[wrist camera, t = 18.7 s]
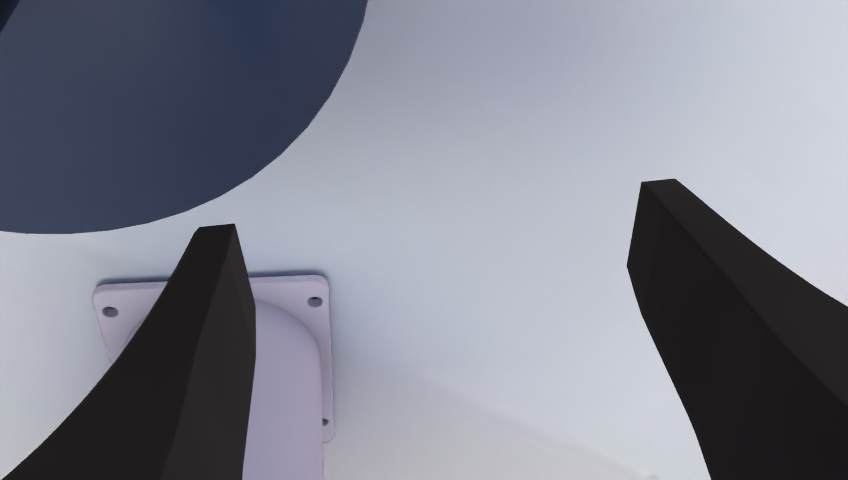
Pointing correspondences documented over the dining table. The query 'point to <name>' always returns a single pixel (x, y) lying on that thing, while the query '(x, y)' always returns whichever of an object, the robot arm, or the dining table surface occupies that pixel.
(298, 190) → the dining table surface
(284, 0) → the lid
